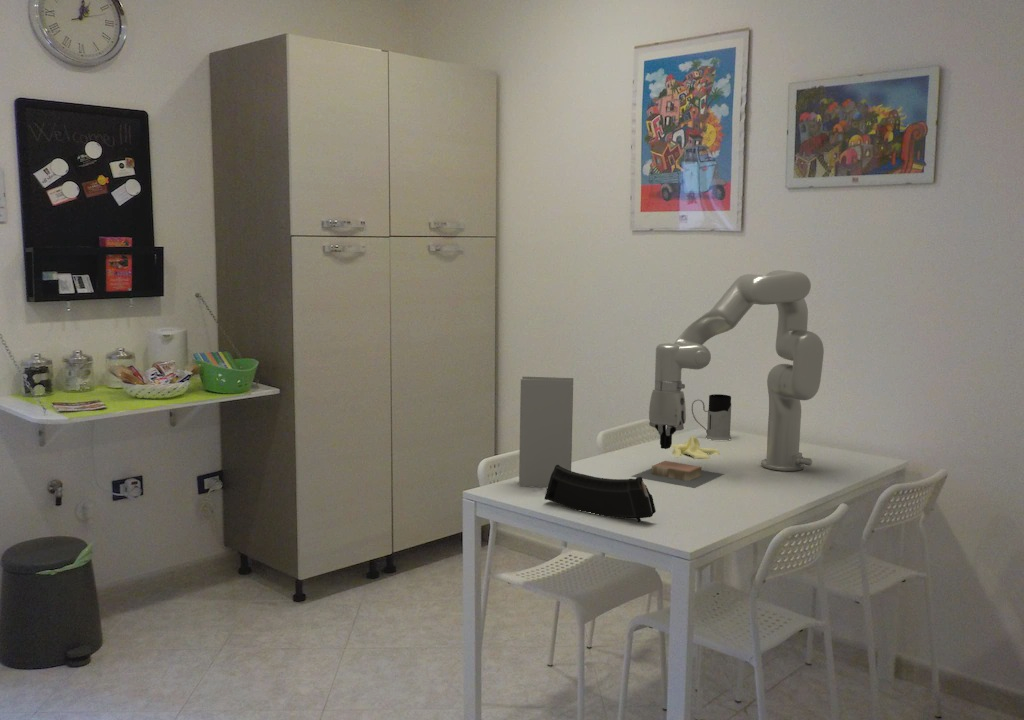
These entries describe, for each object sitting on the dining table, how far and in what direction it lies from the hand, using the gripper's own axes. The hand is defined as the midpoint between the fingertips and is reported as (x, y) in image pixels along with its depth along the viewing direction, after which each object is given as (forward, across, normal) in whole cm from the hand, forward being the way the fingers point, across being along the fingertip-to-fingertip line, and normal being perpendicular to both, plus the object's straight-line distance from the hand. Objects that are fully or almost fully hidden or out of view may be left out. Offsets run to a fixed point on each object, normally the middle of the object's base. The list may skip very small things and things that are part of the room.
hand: (665, 447), depth 274 cm
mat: (+8, -4, 0) cm, 9 cm away
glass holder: (+8, +12, -56) cm, 58 cm away
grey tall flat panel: (+8, +20, +32) cm, 39 cm away
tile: (+6, +2, 0) cm, 7 cm away
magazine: (+8, -6, +46) cm, 47 cm away
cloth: (+9, +7, -30) cm, 32 cm away
